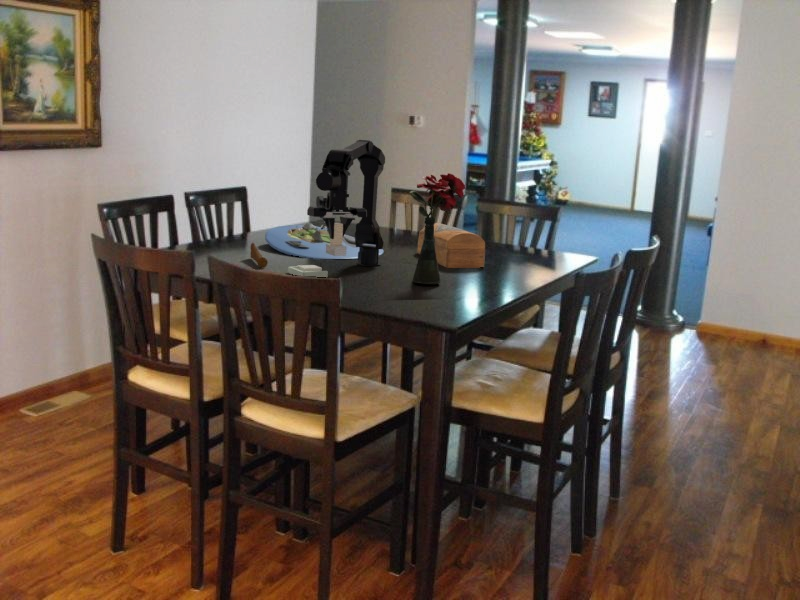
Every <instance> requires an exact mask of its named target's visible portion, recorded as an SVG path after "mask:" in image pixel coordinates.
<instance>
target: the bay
mask: <svg viewBox="0 0 800 600" xmlns="http://www.w3.org/2000/svg"><path fill="white" fill-rule="evenodd" d="M328 271H329V270H322V271H306V272H303V271H301V270H298V269H297V266H294V265H293V266H288V267H287V273H288V274H290V275H292V274H293V276H295V275H301V276H316V277H326V278H329V277H328V275H329V272H328Z"/></svg>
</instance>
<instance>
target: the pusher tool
mask: <svg viewBox="0 0 800 600" xmlns="http://www.w3.org/2000/svg"><path fill="white" fill-rule="evenodd" d="M342 242H343V224H342V223H341V222H335V224H334V235H333V239H330V244H326V253H327V254H330V255H333V256H346V250H347V246H344V245H342Z"/></svg>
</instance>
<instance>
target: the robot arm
mask: <svg viewBox="0 0 800 600" xmlns="http://www.w3.org/2000/svg"><path fill="white" fill-rule="evenodd" d="M355 160H358V163H359V169H360V171H361V173H362V175H363V188H362V189H363V191H362V207H360V206H359V207H358V206H356V207H355V206H350V207H349V206H348V198H350V194H349V193H348V188H349V186H348V185H349V184H348V183H349V176H351V172H350V171H349V170H350V168H351V167H352V166H353V165H354V161H355ZM385 163H386V156H385V154H384V152H383V151H382V149H381V148H380V147H378V146H376V145H375V144H374V142H373V141H371V140H369V139H358V140H356V141H355V142H353V143H352V144H350V145H348V146H346V147H344V148H334V149H330V150H329V151H328V153H327V156H326V158H325V160H324V163H323V165H322V167H321V170H322V171H321V172H320V173H319V174H318V175H317V177H316V179H315V184H316V186H317V188H318V189H319V190H320V191H323V192H327V195H326V197H324V196H323V195H318V196H316V197H315V198H316V200H315V205H316V206H312V205H311V206H309V207H308V208H307V211H306V212H307V213H306V214H307V216H310V217H314V218H319V219H322V221H323V223H324V224H325V227H327V229H328V233H329V236H330V239H333V235H334V224H335V223H336V222H335V221H336V218H335V217H334V216H333V215H335V216H339V220H340V221H339V222H340V223H342V224H343V236H344V234H345V235H346V232H347V230H348V228H349V226H351V224H352V222H353V221H355V220H356V218H355V217H354V216H357V217H358V218H361V219H360V220H359V222H357V223H356V225H355V232H354V238H355V243H356V247H360V248H359V252H358V259H357V261H356V264H357V265H360V266H363V267H381V264H380V263H379V258H380V255H379V249H383V248H384V243H385V242H384V240H383V237H382V235H381V233H380V231H381V230H380V229H381V226H380V225H379V223H378V221H377V218H376V216H377V215H376V214H377V202H378V201H377V200H378V184H379V177H380V176H381V174H382V173H383V171H384V166H385ZM366 244H371V245H366ZM375 245H376V246H375Z"/></svg>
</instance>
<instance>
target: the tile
mask: <svg viewBox="0 0 800 600" xmlns="http://www.w3.org/2000/svg"><path fill="white" fill-rule="evenodd" d="M297 269H298V270H301V271H303V272H306V271H323V268H322V267H321V266H318V265H315V264H305V265H303V264H302V265H297Z"/></svg>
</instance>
